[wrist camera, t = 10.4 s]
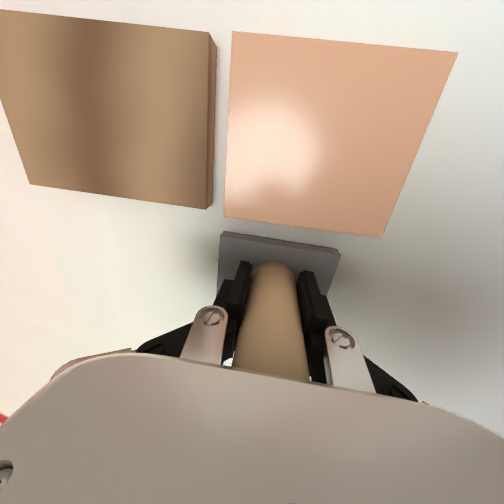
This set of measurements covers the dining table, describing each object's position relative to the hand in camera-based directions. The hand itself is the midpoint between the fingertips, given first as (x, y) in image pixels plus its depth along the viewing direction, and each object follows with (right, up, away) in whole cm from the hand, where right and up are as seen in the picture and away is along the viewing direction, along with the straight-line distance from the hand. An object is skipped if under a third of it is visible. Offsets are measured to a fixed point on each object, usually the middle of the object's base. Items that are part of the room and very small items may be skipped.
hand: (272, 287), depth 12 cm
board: (-8, +9, -2) cm, 12 cm away
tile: (+6, +6, -3) cm, 9 cm away
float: (0, +1, +1) cm, 1 cm away
